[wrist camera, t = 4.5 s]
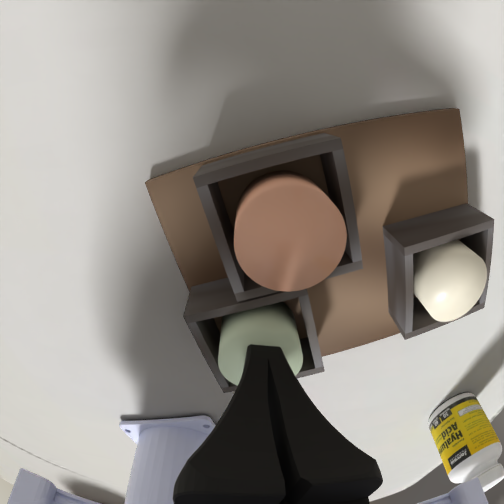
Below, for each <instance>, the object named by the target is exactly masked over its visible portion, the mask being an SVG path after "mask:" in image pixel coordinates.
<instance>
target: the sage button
mask: <svg viewBox="0 0 504 504" xmlns="http://www.w3.org/2000/svg"><path fill="white" fill-rule="evenodd" d="M250 344H253V345H265V346H278V347H281V349H282V351H283V353H284V355H285V357H286V359H287V361H288V363H289V365H290V367H291V369H292V371H293V373H294V375H295V376H296V375H297V374H298V372H299V371H300V369H301V367H302V363H303V354H302V349H301V345H300V340H299V335H298V331H297V326H296V321H295V317H294V314H293V312H292V310H291V309H290V308H289V306H288V305H286V304H285V303H284V302H283V301H282V302H278V303H274V304H270V305H266V306H262V307H258V308H254V309H250V310H246V311H241V312H237V313H233V314H229V315H224V316H223V318H222V323H221V334H220V344H219V355H218V366H219V369H220V371H221V373H222V375H223V376H224V377H225V378H226V379H227V380H228V381H230V382H231V383H233V384H235V385H237V386H238V384H239V382H240V379H241V376H242V373H243V368H244V363H245V357H246V352H247V347H248V346H249V345H250Z"/></svg>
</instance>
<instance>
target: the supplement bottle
mask: <svg viewBox="0 0 504 504" xmlns="http://www.w3.org/2000/svg"><path fill="white" fill-rule="evenodd" d="M428 426H429V429H430V431H431V434H432V436H433V439H434V441H435V444H436V446H437V449H438V451H439V454H440V456H441V459H442V461H443V464H444V466H445V469H446V472H447V475H448V477H449V479H450V481H452V482H454V483H464V482H466V481H469V480H471V479H474V478H476V477H478V479H479V481H480V483H481V486H482V488H483V491H484V492H485V491H487V490H488V489H490V488H491V487H493V486H494V485H496V484H497V483H498V482H500V481H501V480H502V479H503V478H504V469H503V466H502V465H501V464H498V462H497V460H498V458H499V457H500V455H501V453H502V446H501V443H500V441H499V439H498V437H497V435H496V433H495V431H494V430H493V427H492V426H491V424H490V422H489V420H488V418H487V416H486V414H485V413H484V411H483V409H482V407H481V405H480V403H479V402H478V400H477V398H476V397H475V395H474V394H472V393H463V394H460V395H457V396H455V397H453V398H451V399H449V400H448V401H446V402H445V403H443V404H442V405H441V406H439V407H438V408H437V409H436V410H435V411H434V413H433V414H432V415H431V417H430V419H429V421H428Z"/></svg>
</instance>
